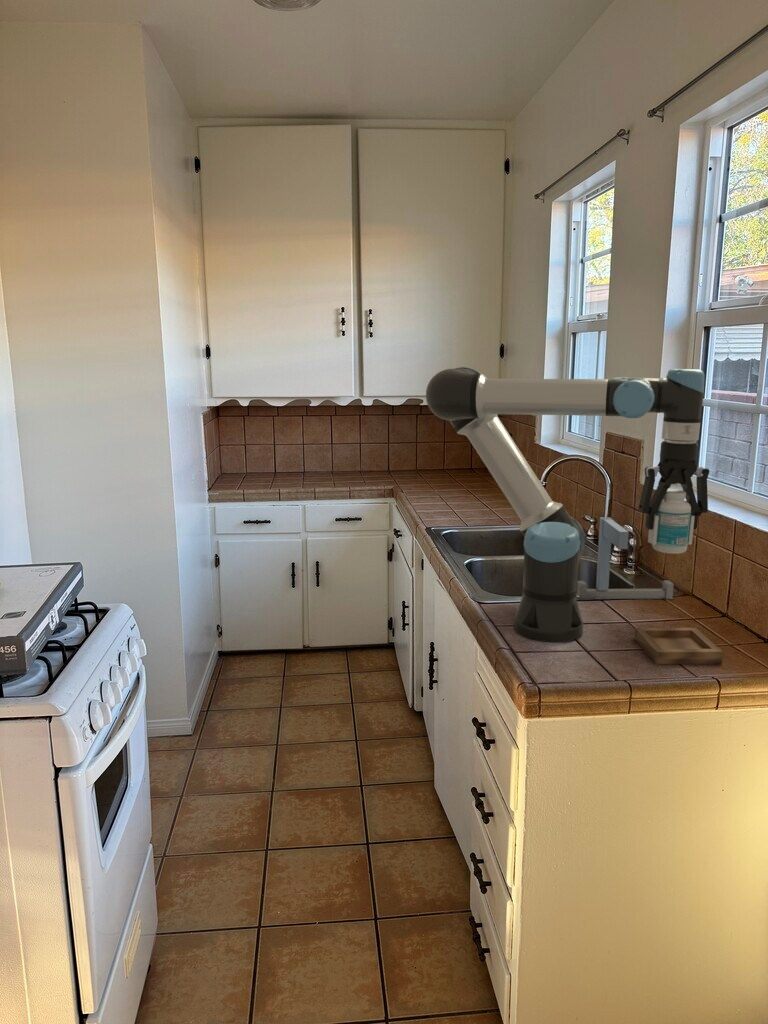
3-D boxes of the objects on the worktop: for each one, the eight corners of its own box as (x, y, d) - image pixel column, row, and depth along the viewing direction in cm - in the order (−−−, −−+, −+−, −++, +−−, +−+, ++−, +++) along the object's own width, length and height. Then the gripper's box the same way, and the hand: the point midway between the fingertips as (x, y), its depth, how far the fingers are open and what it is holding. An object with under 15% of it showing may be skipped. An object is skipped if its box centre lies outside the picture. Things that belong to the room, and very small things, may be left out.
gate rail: (579, 599, 183) (580, 584, 183) (576, 595, 186) (577, 580, 185) (672, 599, 183) (673, 584, 182) (667, 595, 186) (669, 580, 185)
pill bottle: (656, 544, 169) (662, 486, 166) (690, 549, 165) (696, 490, 162) (647, 550, 163) (652, 491, 160) (681, 556, 159) (688, 495, 156)
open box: (656, 663, 145) (657, 651, 145) (634, 638, 158) (635, 628, 157) (721, 663, 145) (722, 651, 145) (694, 638, 158) (695, 627, 157)
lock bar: (614, 607, 171) (619, 531, 167) (596, 587, 185) (600, 517, 182) (624, 607, 171) (629, 531, 167) (605, 587, 185) (609, 517, 182)
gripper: (641, 443, 155) (631, 547, 159) (734, 443, 156) (722, 547, 161) (627, 439, 162) (619, 539, 167) (716, 439, 163) (705, 538, 168)
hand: (669, 543), depth 164 cm, fingers closed on pill bottle, 7 cm apart
